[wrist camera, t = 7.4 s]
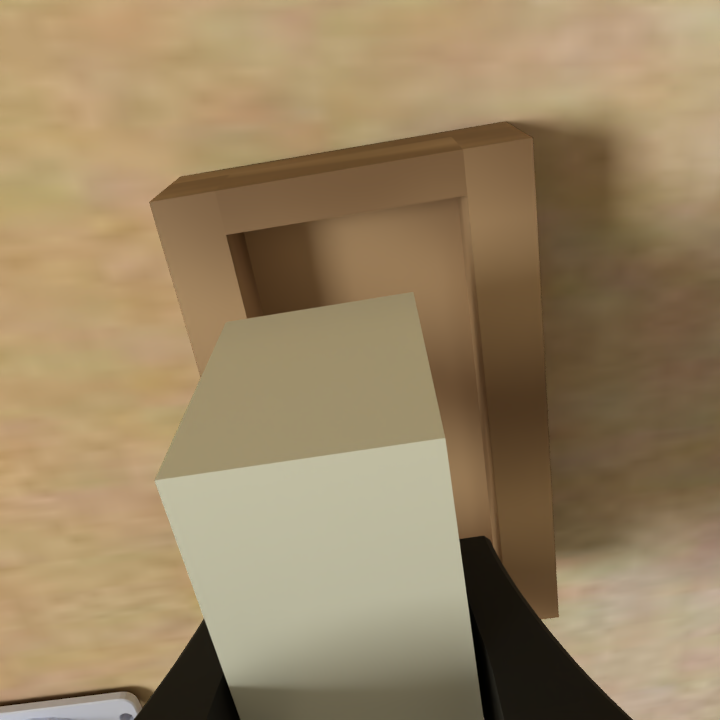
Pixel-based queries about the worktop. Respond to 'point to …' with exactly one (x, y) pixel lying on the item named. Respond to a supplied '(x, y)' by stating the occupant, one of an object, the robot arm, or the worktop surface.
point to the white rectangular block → (325, 519)
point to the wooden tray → (397, 276)
